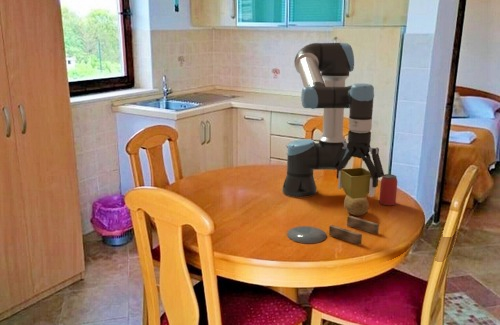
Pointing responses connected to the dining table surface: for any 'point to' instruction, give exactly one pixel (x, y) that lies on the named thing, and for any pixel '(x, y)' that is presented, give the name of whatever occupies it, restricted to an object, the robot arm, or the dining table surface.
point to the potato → (356, 205)
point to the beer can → (388, 190)
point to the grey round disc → (306, 235)
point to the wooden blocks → (351, 235)
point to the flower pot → (356, 182)
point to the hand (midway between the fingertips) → (356, 191)
